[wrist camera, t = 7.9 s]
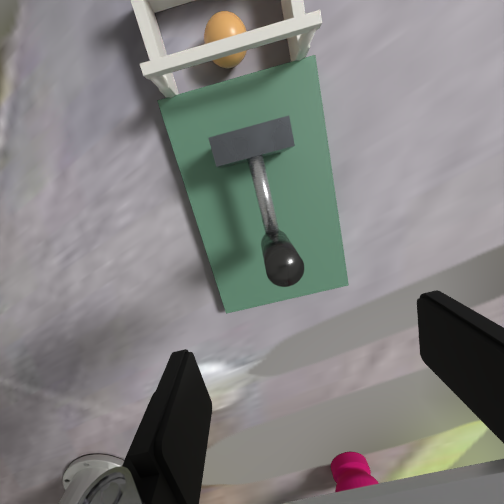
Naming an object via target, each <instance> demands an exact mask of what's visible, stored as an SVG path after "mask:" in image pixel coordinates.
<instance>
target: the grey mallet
mask: <svg viewBox="0 0 504 504" xmlns="http://www.w3.org/2000/svg"><path fill="white" fill-rule="evenodd" d="M208 139H209V142H210V146H211V150H212V153H213V157H214V160H215V164H216V167H219V168H225V167H228V166H232V165H236V164H240V163H243V162H247V161H248V164H249V168H250V172H251V176H252V180H253V184H254V189H255V193H256V197H257V201H258V205H259V209H260V213H261V218H262V222H263V226H264V230H265V235H264V236H263V238H262V240H261V248H262V253H263V258H264V264H265V269H266V274H267V277H268V279H269V280H270V281H271V282H272V283H273V284H275V285H277V286H280V287H289V286H292V285H294V284H296V283H297V282H298V281H299V280H300V279H301V278H302V276H303V274H304V262H303V260H302V259H301V257H300V255H299V254H298V252H297V251H296V249H295V248H294V246H293V245H292V243H291V241H290V240H289V238H288V237H287V235H286V234H285V233H284V232H282V231H280V230H279V227H278V222H277V218H276V213H275V209H274V204H273V200H272V195H271V191H270V186H269V182H268V177H267V173H266V168H265V164H264V159H263V157H266V156H270V155H273V154H277V153H281V152H284V151H287V150H289V149H290V148H292V147H294V146H295V144H294V138H293V133H292V128H291V122H290V117H289V115H288V116H285V117H281V118H278V119H274V120H270V121H267V122H263V123H260V124H256V125H252V126H249V127H245V128H241V129H238V130H234V131H231V132H227V133H223V134H220V135H216V136H212V137H209V138H208Z"/></svg>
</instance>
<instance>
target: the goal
mask: <svg viewBox="0 0 504 504" xmlns="http://www.w3.org/2000/svg"><path fill="white" fill-rule="evenodd" d="M192 1H195V0H131V3H132V6H133V9H134V12H135V15H136V18H137V22H138V25H139V28H140V31H141V34H142V37H143V40H144V44H145V47H146V50H147V53H148V56H149V59H150V61H147V62H144V63H141V64H140V67H141V70H142V73H143V76H144V77H145V78H146V79H150V80H151V81H152V82H153V83H154V84H155V85H156V86H157V87H158V88H159V91H160V92H161V93H162V94H163V95H164V96H165V97H166V98H168V97H169V98H172V97H174V96H175V95H178V94H179V93H178V90H177V87H176V83H175V80H174V77H173V73H172V72H175V71H178V70H182V69H185V68H188V67H192V66H195V65H199V64H202V63H205V62H209V61H212V60H215V59H219V58H222V57H226V56H229V55H232V54H236V53H239V52H243V51H246V50H249V49H253V48H256V47H259V46H263V45H266V44H270V43H273V42H276V41H280V40H283V39H287V40H288V46H289V52H290V58H291V62H292V61H296V60H298V61H300V60H302V59H303V58H305V57H306V55H307V53H308V51H309V48H310V43H311V41H312V38H313V36H314V34H315V32H316V30H317V29H319V28H320V26H321V24H322V19H321V11H320V10H317V11H314V12H311V13H307V14H305V8H304V2H303V0H281V5H282V11H283V17H284V21H281V22H277V23H274V24H271V25H267V26H264V27H261V28H257V29H254V30H251V31H247V32H244V33H241V34H237V35H234V36H231V37H227V38H224V39H221V40H217V41H214V42H211V43H207V44H204V45H201V46H197V47H194V48H191V49H187V50H184V51H181V52H177V53H174V54H171V55H167V53H166V50H165V46H164V43H163V40H162V36H161V33H160V30H159V26H158V23H157V20H156V16H155V13H156V12H160V11H163V10H166V9H169V8H172V7H176V6H179V5H182V4H185V3H189V2H192Z"/></svg>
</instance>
